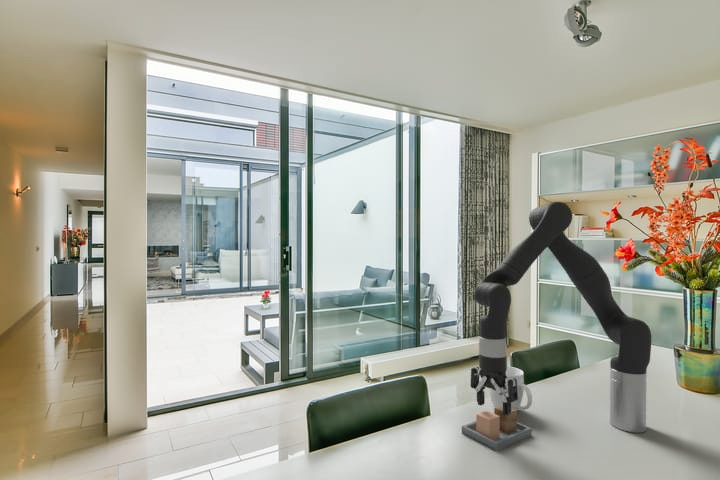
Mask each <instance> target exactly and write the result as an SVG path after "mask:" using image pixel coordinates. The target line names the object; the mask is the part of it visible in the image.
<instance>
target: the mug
mask: <svg viewBox="0 0 720 480" xmlns="http://www.w3.org/2000/svg"><path fill="white" fill-rule="evenodd" d="M524 374H525V373H524V371H523V370H522V369H520V368H517V367H513V366H509V365H507V370H506V376H507V378H510V379H513V378H515V379H516V380H517V391H518V400H516V401H514V402H511V408H514V409H516V410H517V411H518V410H522V411H525V410H527V409H529V408H530V407H532V403H533V395H532V391H531V390H530V388H529V387H528V386H527V385H526V384H525V382H524V381H525V378H524V377H525V375H524ZM505 384H506V385H507V383H505ZM507 387H508V386H507ZM501 390H503V387H502V388H501ZM488 391H489V397H490V401H491V403H492V405H493V408H495V407H498V406H501V405H503V402H504V401H503V399H502V397H501V396H500V395H499V394H498V392H497V391H496V390H493V389H491V388H488ZM524 391H525V393H526V396H527V403H526V405H525V406H521V404H522V402H523V396H524ZM505 396H506V395H505Z"/></svg>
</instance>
